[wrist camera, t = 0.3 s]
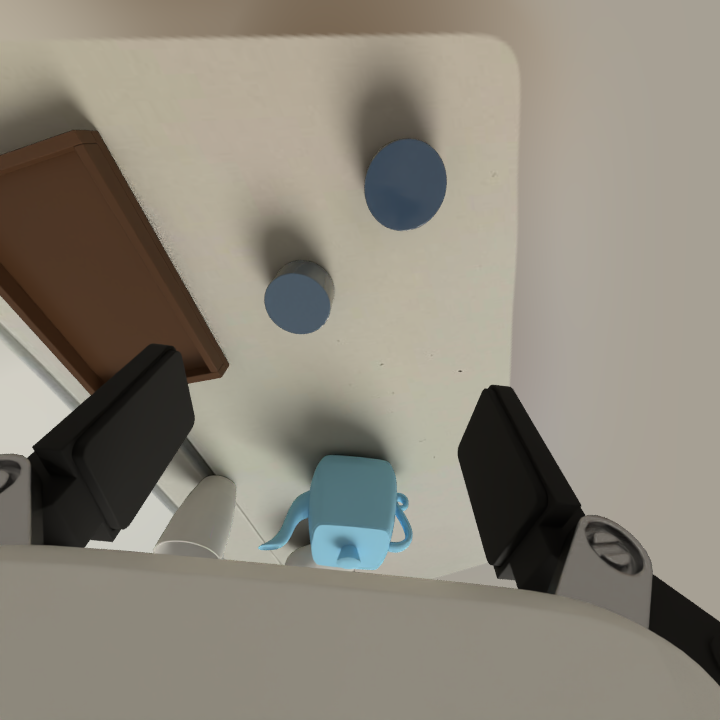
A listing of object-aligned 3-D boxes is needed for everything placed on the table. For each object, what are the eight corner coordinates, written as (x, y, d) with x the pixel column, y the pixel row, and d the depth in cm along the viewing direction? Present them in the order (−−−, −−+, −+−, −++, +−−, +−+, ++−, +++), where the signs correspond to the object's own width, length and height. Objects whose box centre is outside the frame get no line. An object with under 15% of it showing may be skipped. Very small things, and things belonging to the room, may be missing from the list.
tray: (-64, 185, 26) (-98, 188, 24) (97, 130, 24) (73, 129, 22) (109, 387, 38) (95, 400, 36) (229, 365, 35) (221, 377, 33)
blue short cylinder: (274, 255, 28) (263, 268, 26) (337, 265, 29) (333, 279, 26) (274, 312, 32) (264, 329, 29) (331, 320, 32) (327, 338, 29)
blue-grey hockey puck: (372, 132, 23) (371, 131, 20) (447, 146, 24) (458, 146, 21) (360, 215, 26) (358, 224, 23) (427, 226, 27) (433, 236, 24)
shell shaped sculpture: (274, 532, 55) (264, 575, 50) (341, 519, 52) (337, 562, 47) (310, 566, 62) (304, 607, 56) (371, 556, 58) (371, 598, 53)
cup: (184, 467, 46) (142, 539, 38) (240, 469, 46) (210, 541, 37) (200, 501, 50) (166, 571, 42) (251, 502, 50) (227, 573, 42)
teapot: (278, 440, 42) (250, 527, 32) (415, 453, 42) (427, 543, 33) (281, 495, 49) (259, 581, 39) (399, 506, 49) (405, 593, 40)
